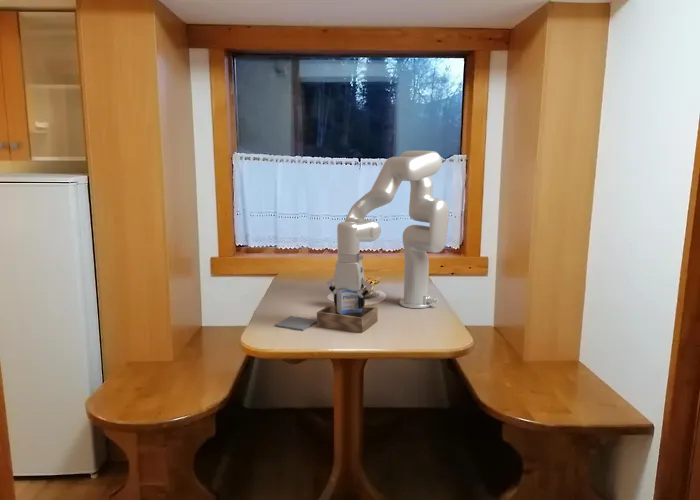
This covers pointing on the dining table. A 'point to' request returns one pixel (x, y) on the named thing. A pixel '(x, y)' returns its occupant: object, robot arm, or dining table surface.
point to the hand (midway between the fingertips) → (349, 306)
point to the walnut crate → (347, 319)
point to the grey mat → (296, 323)
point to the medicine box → (347, 302)
